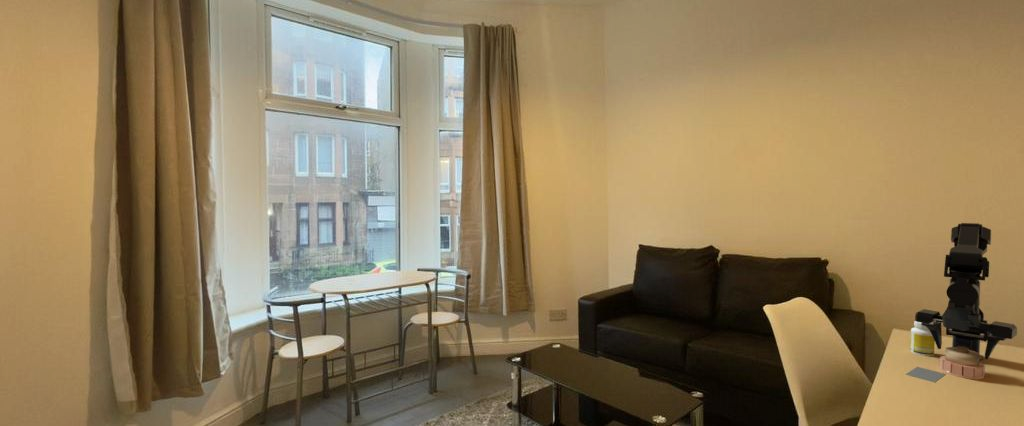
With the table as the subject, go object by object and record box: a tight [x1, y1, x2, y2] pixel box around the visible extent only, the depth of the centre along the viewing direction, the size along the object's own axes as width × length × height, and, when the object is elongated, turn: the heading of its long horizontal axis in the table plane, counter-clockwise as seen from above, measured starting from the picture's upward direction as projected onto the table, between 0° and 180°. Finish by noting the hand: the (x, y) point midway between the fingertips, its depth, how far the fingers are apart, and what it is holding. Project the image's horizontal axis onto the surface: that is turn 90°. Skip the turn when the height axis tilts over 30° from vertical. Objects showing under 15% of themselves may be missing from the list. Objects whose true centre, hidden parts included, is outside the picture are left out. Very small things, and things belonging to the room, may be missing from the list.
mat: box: [905, 366, 947, 383], centre depth 120 cm, size 9×6×1 cm, turn 122°
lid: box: [945, 346, 980, 366], centre depth 121 cm, size 6×6×4 cm
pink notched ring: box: [939, 355, 986, 380], centre depth 121 cm, size 8×8×4 cm
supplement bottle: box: [909, 320, 935, 357], centre depth 135 cm, size 5×5×10 cm
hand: (962, 353), depth 121 cm, fingers open, 9 cm apart
